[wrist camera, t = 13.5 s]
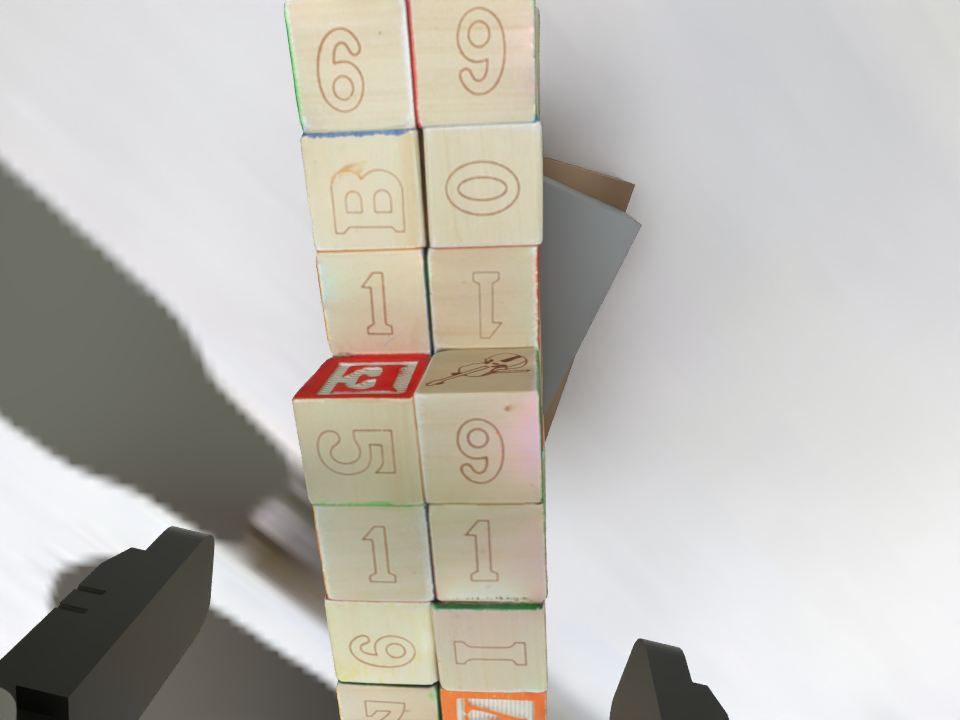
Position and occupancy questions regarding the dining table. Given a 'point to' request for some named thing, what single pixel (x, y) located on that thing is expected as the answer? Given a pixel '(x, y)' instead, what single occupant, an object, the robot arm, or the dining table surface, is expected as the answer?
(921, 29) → the dining table surface
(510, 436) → the stack of blocks
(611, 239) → the tower top block
